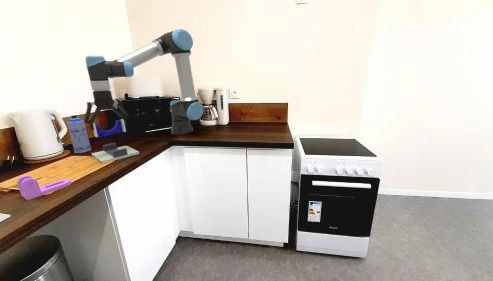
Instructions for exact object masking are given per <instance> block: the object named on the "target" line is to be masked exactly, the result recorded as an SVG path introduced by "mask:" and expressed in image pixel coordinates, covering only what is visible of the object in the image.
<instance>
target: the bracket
mask: <svg viewBox="0 0 493 281" xmlns="http://www.w3.org/2000/svg"><path fill="white" fill-rule="evenodd" d="M16 180H17V181H16V184H17V187H18V190H19V192H20V194H21V197H22V198H23V199H25V200H26V201H30V200H33V199H36V198H38V197H42V196H44V195H47V194H49V193H52V192H55V191H57V190H60V189H63V188H66V187H68V186H70V185H71V184H72V181H71V179H69V178H65V179H59V180H55V181H53V182H50V183H47V184H45V185H41V186H40V185H39V182H38V180H37V179H35V178H33V177H31V176H29V175H22V176H20V177H19V178H17V179H16ZM51 186H52V187H51ZM48 187H49V188H48Z"/></svg>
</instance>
